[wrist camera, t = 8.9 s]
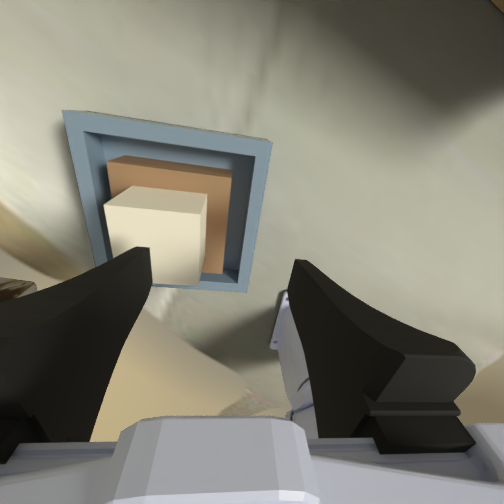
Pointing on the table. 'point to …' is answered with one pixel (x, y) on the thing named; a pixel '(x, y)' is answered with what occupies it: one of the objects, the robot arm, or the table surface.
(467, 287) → the table surface
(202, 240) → the cream box
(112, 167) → the walnut block
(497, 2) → the paper package
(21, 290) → the coffee box
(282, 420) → the robot arm
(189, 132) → the tote
